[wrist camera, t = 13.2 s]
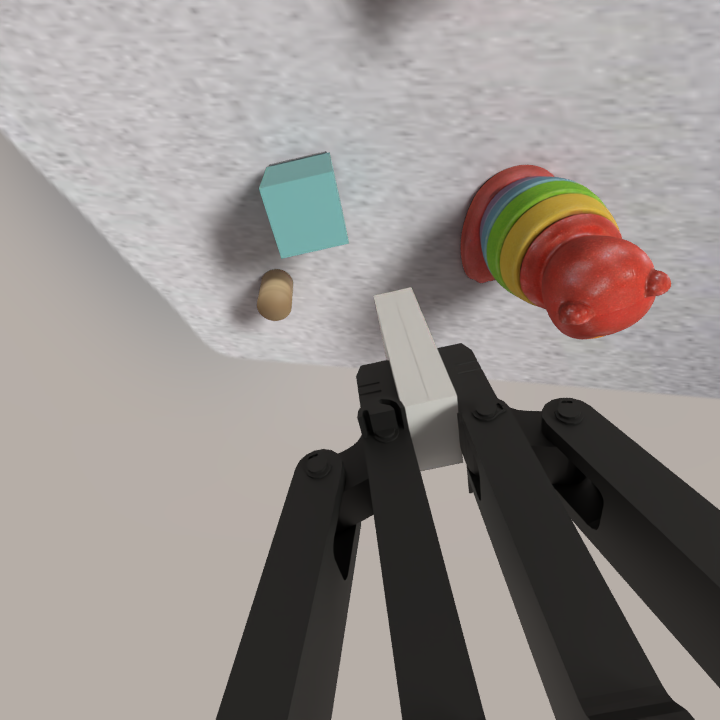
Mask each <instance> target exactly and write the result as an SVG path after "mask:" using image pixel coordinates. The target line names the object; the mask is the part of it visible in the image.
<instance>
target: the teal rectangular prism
mask: <svg viewBox="0 0 720 720" xmlns="http://www.w3.org/2000/svg"><path fill="white" fill-rule="evenodd" d="M259 190H260V193H261V197H262V200H263V203H264V206H265V209H266V212H267V215H268V218H269V221H270V224H271V228H272V231H273V234H274V237H275V240H276V243H277V246H278V249H279V252H280V256H281V259H282V258H287V257H291V256H296V255H300V254H304V253H309V252H313V251H318V250H322V249H326V248H331V247H335V246H340V245H344V244H348V243H349V241H348V236H347V231H346V226H345V221H344V216H343V212H342V207H341V203H340V198H339V193H338V189H337V184H336V180H335V175H334V171H333V166H332V162H331V157H330V153H325V154H321V155H317V156H313V157H308V158H304V159H300V160H296V161H291V162H287V163H283V164H279V165H274V166H270V167H267V168H266V170H265V173H264V176H263V179H262V182H261V184H260V187H259Z"/></svg>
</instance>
